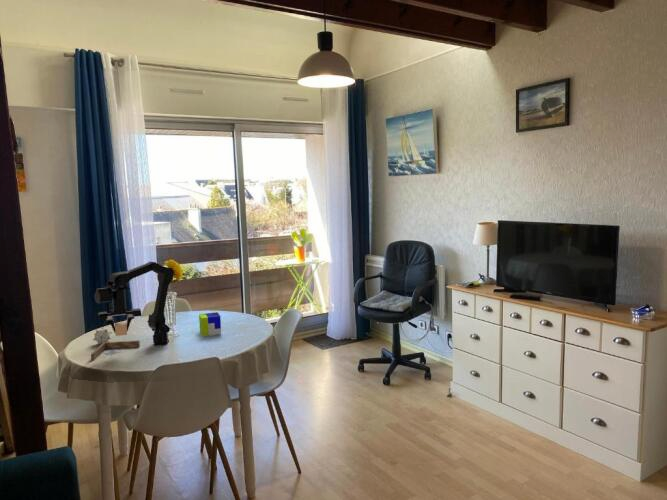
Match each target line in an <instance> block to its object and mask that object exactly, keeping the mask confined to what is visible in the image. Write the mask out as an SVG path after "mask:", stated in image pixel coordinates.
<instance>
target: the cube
mask: <svg viewBox="0 0 667 500" xmlns="http://www.w3.org/2000/svg"><path fill="white" fill-rule="evenodd" d="M114 326H115V333H114V334H115V337H119V336H127V335H128V331H127V321H126V322H125V321H122V322H115V323H114Z"/></svg>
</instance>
